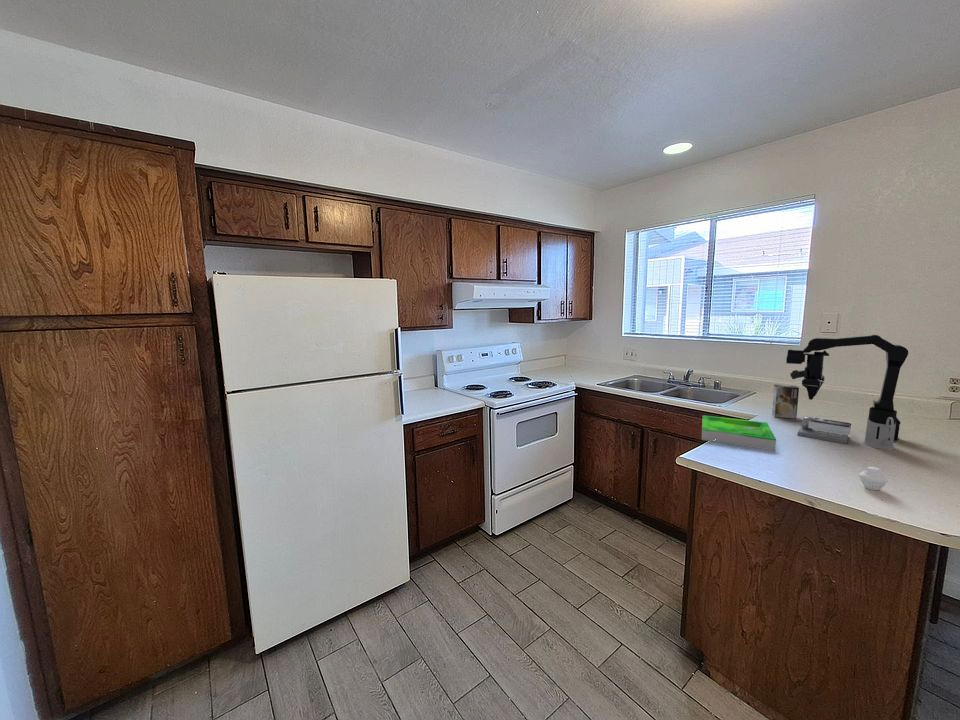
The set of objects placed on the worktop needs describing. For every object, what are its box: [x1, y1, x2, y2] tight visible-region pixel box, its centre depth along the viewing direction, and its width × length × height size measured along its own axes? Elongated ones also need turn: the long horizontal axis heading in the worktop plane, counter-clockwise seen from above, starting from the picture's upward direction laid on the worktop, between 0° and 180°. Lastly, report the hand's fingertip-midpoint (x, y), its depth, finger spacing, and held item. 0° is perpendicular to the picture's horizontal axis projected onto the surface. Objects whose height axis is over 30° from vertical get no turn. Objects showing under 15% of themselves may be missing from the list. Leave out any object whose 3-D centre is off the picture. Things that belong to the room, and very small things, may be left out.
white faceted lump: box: [858, 466, 889, 491], centre depth 115 cm, size 6×6×7 cm
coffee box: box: [771, 384, 800, 419], centre depth 192 cm, size 9×6×16 cm
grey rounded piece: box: [862, 406, 898, 450], centre depth 148 cm, size 9×14×15 cm, turn 149°
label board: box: [797, 425, 849, 445], centre depth 163 cm, size 16×12×2 cm
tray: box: [701, 414, 777, 451], centre depth 164 cm, size 25×25×5 cm
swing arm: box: [801, 416, 852, 436], centre depth 162 cm, size 15×5×5 cm, turn 44°
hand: (812, 397), depth 175 cm, fingers open, 9 cm apart
